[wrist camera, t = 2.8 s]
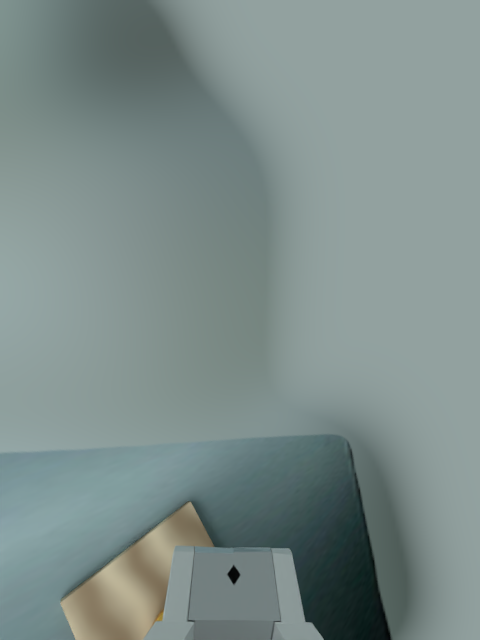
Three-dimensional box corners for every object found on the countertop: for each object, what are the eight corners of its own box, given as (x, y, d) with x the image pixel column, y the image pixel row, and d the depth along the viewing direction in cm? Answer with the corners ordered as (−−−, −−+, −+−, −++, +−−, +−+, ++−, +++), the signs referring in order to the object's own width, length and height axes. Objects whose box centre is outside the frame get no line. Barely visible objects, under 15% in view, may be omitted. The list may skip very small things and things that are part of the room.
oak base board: (146, 802, 35) (149, 814, 34) (61, 599, 39) (60, 602, 38) (267, 651, 45) (272, 656, 44) (188, 501, 49) (190, 501, 48)
